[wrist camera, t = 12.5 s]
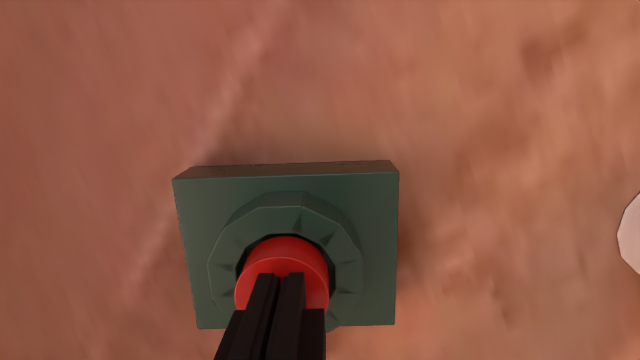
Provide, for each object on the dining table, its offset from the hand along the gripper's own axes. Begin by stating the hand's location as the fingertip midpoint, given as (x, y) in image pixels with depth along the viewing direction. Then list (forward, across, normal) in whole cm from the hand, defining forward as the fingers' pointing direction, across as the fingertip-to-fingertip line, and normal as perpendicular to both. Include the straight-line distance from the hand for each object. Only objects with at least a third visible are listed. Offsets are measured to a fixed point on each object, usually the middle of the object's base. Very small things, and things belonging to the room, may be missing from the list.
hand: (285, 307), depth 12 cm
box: (+6, 0, 0) cm, 6 cm away
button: (+2, 0, 0) cm, 2 cm away
